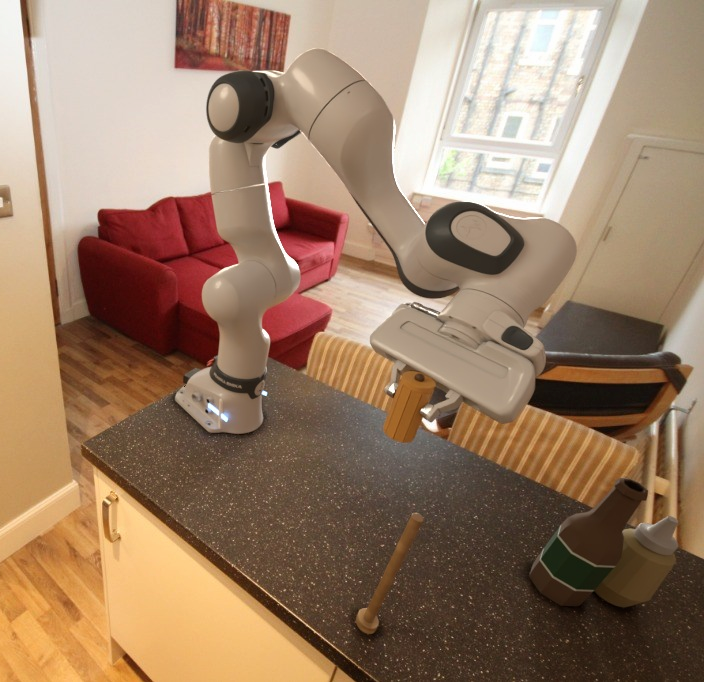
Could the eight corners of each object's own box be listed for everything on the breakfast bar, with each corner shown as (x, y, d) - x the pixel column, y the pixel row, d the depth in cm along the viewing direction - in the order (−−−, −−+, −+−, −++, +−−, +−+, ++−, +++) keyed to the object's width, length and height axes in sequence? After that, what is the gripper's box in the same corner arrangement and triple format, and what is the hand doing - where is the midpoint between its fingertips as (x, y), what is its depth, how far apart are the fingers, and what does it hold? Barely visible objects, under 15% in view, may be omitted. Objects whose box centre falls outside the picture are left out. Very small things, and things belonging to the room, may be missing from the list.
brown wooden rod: (352, 623, 67) (401, 516, 55) (360, 609, 69) (409, 503, 57) (371, 638, 65) (426, 531, 54) (379, 623, 67) (434, 517, 56)
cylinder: (378, 432, 62) (399, 373, 57) (389, 419, 64) (410, 362, 60) (407, 447, 59) (432, 387, 55) (418, 433, 62) (442, 374, 57)
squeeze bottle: (622, 622, 70) (694, 550, 62) (568, 577, 77) (626, 505, 68) (649, 604, 73) (721, 533, 65) (595, 562, 80) (654, 491, 71)
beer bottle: (516, 573, 77) (588, 472, 65) (544, 558, 80) (618, 460, 68) (564, 616, 71) (652, 514, 59) (592, 599, 73) (682, 498, 62)
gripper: (401, 286, 65) (339, 358, 65) (559, 352, 50) (478, 446, 50) (410, 308, 69) (352, 376, 69) (558, 375, 54) (484, 461, 54)
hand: (406, 406), depth 59 cm, fingers closed on cylinder, 4 cm apart
